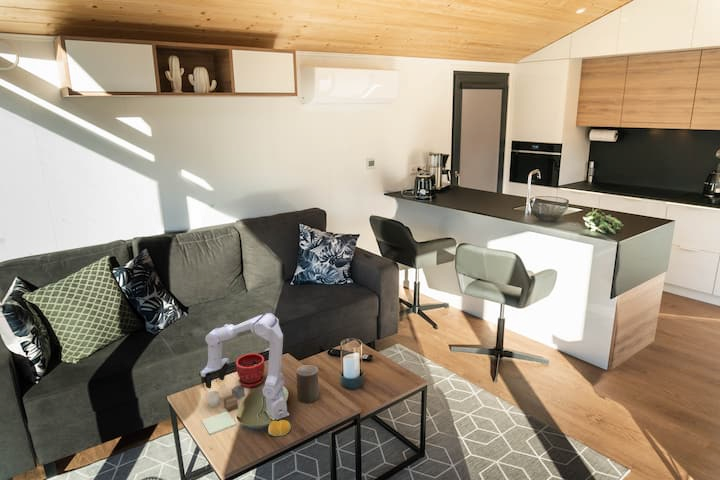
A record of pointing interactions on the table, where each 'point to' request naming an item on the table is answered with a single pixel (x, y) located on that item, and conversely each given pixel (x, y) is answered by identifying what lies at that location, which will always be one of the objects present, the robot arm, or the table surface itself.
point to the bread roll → (279, 428)
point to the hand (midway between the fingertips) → (215, 383)
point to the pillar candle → (307, 384)
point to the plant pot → (250, 370)
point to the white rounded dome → (213, 398)
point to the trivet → (218, 422)
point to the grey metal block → (238, 392)
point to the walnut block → (230, 403)
